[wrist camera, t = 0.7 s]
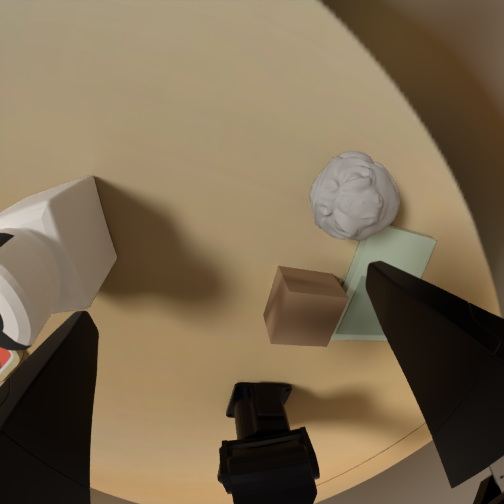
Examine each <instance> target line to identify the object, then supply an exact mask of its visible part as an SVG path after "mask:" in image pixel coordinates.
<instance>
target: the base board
mask: <svg viewBox="0 0 504 504" xmlns="http://www.w3.org/2000/svg"><path fill="white" fill-rule="evenodd" d="M436 241H437V240H435V239H434V238H433V237H431V236H428V235H425V234H421V233H418V232H414V231H411V230H407V229H403V228H400V227H396V226H393V225H389V226H388V227H387V228H386V229H384V230H383V231H381V232H379V233H377V234H375V235H372V236H370V237H369V238H367V239H364V240H360V243H359V246H358V248H357V251H356V254H355V256H354V259H353V262H352V264H351V267H350V269H349V272H348V274H347V277H346V279H345V282H344V284H343V287H342V289H343V290H344V292H345V293H346V294H347V296H348V297H349V300H348V302H347V304H346V306H345V309H344V311H343V313H342V315H341V318H340V320H339V322H338V324H337V326H336V328H335V330H334V333H333V335H332V337H331V339H332V340H371V341H388V340H387V338H386V337H385V335H384V333H383V330H382V328H381V326H380V324H379V321H378V318H377V316H376V313H375V311H374V308H373V306H372V303H371V301H370V298H369V296H368V293H367V291H366V287H365V282H366V275H367V267H368V264H369V263H370V262H375V261H383V262H385V263H388V264H390V265H392V266H394V267H396V268H399V269H401V270H403V271H405V272H407V273H409V274H412V275H414V276H416V277H418V278H420V279H421V276H422V274H423V272H424V270H425V268H426V265H427V263H428V261H429V258H430V256H431V254H432V251H433V249H434V246H435V244H436Z"/></svg>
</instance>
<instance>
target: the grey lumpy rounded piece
mask: <svg viewBox="0 0 504 504" xmlns="http://www.w3.org/2000/svg"><path fill="white" fill-rule="evenodd" d="M311 188H312V191H311V192H310V201H311V207H312V210H313V215H314V223H315V225H317V226H318V227H319V228H321V229H323V230H324V231H325V232H326V233H327V234H329V235H330V236H332V237H334V238H338V239H349V238H350V239H354V240H364V239H367V238H369V237H370V236H372V235H375V234H377V233H379V232H381V231H383V230H384V229H386V228H387V227H388V226H389V225H390V224H391V223H392V222H393V220H394V219H395V217H396V216H397V213H398V209H399V206H400V195H399V190H398V187H397V185H396V184H395V182H394V180H393V178H392V177H391V175H390V174H389V172H388V171H387V170H386V168H385V167H383V166H382V165H381V164H380V163H378V162H372V159H371V157H370V156H368V155H367V154H365V153H362V152H359V151H348V152H344V153H342V154H340V155H339V156H336V157H334V158H332V159H331V161H330V162H329V163H328V165H327V166H326V167H325V168H324V169H323V170H322V172H321V173H320V175H319V176H318V177H317V178H316V179H315V180H314V182H313V184H312V187H311Z"/></svg>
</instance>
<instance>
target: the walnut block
mask: <svg viewBox="0 0 504 504" xmlns="http://www.w3.org/2000/svg"><path fill="white" fill-rule="evenodd" d="M348 300H349V297H348V296H347V294H346V293H345V292H344V290H343V289H342V287H341V286H340V284H339V283H338V281H337V280H336V279H335V277H334V276H333V274H329V273H322V272H316V271H309V270H302V269H295V268H289V267H282V266H278V269H277V272H276V276H275V279H274V282H273V285H272V289H271V292H270V295H269V299H268V302H267V305H266V308H265V312H264V319H265V323H266V327H267V330H268V334H269V338H270V342H271V344H284V345H301V346H324V347H327V345H328V343H329V341H330V339H331V337H332V335H333V333H334V330H335V328H336V326H337V324H338V322H339V320H340V318H341V315H342V313H343V311H344V309H345V306H346V304H347V302H348Z"/></svg>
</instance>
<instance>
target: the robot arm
mask: <svg viewBox="0 0 504 504" xmlns="http://www.w3.org/2000/svg"><path fill="white" fill-rule="evenodd" d="M365 287H366V291H367V293H368V296H369V298H370V301H371V303H372V306H373V308H374V311H375V313H376V316H377V318H378V321H379V324H380V326H381V328H382V330H383V333H384V335H385V337H386V338H387V340H388V342H389V344H390V346H391V348H392V350H393V352H394V354H395V356H396V358H397V360H398V362H399V364H400V366H401V369H402V371H403V373H404V375H405V377H406V379H407V381H408V383H409V385H410V388H411V390H412V392H413V394H414V396H415V398H416V401H417V403H418V405H419V407H420V410H421V412H422V414H423V417H424V419H425V421H426V424H427V426H428V428H429V431H430V433H431V435H433V436H432V438H433V441H434V443H435V446H436V448H437V451H438V453H439V456H440V459H441V461H442V464H443V466H444V469H445V472H446V475H447V477H448V480H449V483H450V486H451V488H454V487H456V486H458V485H460V484H461V483H463V482H465V481H466V480H468V479H470V478H471V477H473V476H475V475H476V474H478V473H479V472H481V471H482V470H484V469H485V468H487V467H489V468H490V471H491V473H492V474H491V475H490V476H488V477H487V478H485V479H484V480H483V481H481V483H480V486H479V489H478V492H477V495H476V497H475V500H474V502H473V504H504V319H503V318H501V317H499V316H496V315H494V314H492V313H490V312H488V311H486V310H483V309H481V308H479V307H477V306H475V305H473V304H472V303H468V302H467V301H465V300H463V299H461V298H459V297H457V296H455V295H453V294H451V293H449V292H447V291H445V290H443V289H441V288H439V287H437V286H435V285H433V284H431V283H428V282H426V281H424V280H422V279H420V278H418V277H416V276H414V275H412V274H409V273H407V272H405V271H403V270H401V269H399V268H396V267H394V266H392V265H390V264H388V263H385V262H383V261H375V262H370V263H369V264H368V267H367V275H366V282H365ZM98 340H99V333H98V329H97V327H96V325H95V324H94V322H93V320H92V318H91V316H90V315H89V313H88V312H87V311H77V312H75V313H73V314H72V315H71V316H70V317H69V318H68V319H67V320H66V321H65V322H64V323H63V324H62V325H61V326H60V327H59V328H57V329H56V330H55V331H54V332H53V333H52V334H51V335H50V336H49V337H48V338H47V339H46V340H45V341H44V342H43V343H42V344H41V345H40V346H39V347H38V348H37V349H36V350H35V351H34V352H33V353H32V354H31V355H30V356H29V357H28V358H27V359H26V360H25V361H24V362H23V363H22V364H21V365H20V366H19V367H18V368H17V369H16V370H15V371H14V373H13V374H12V375H11V376H10V377H9V378H8V379H7V380H6V381H5V382H4V383H3V384H2V385H1V386H0V504H90V489H89V488H90V445H91V427H92V414H93V404H94V394H95V386H96V377H97V357H98ZM291 391H292V387H291V385H277V384H251V383H237V384H235V386H234V389H233V392H232V395H231V399H230V402H229V405H228V408H227V411H226V416H227V417H230V418H235V424H236V433H237V440H231V441H227V440H224V441H222V447H220V449H219V453H220V465H219V471H218V481H219V482H220V483H222V484H223V486H224V488H225V490H226V492H227V494H232V497H233V502H234V504H313V503H314V500H315V498H316V495H317V488H316V484H315V479H319V478H320V473H319V466H318V462H317V458H316V454H315V452H314V449H313V446H312V444H311V441H310V438H309V436H308V433H307V431H306V428H305V427H300V429H295V430H290V427H289V423H288V419H287V415H286V411H285V407H284V404H285V402H286V400H287V399H288V397H289V395H290V393H291Z"/></svg>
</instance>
